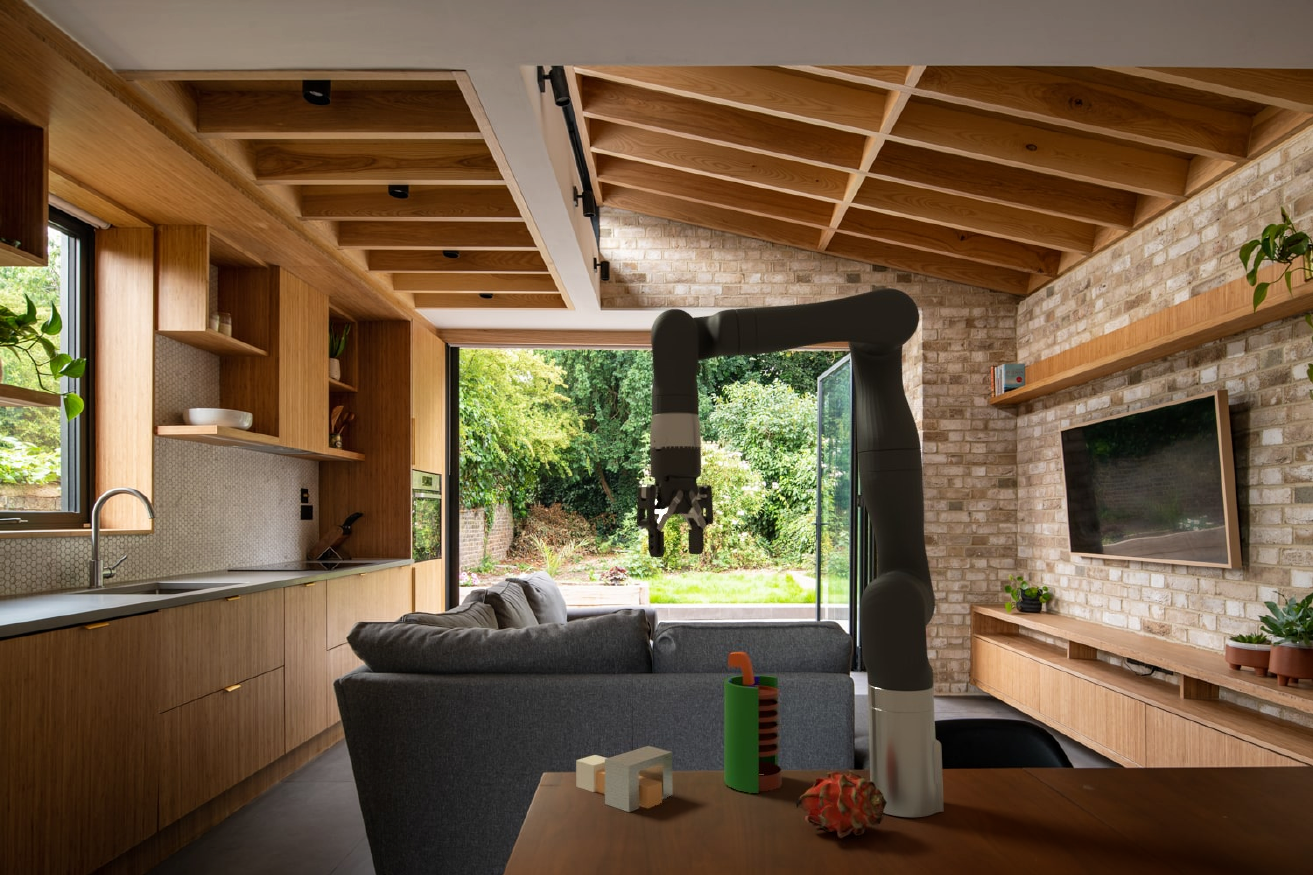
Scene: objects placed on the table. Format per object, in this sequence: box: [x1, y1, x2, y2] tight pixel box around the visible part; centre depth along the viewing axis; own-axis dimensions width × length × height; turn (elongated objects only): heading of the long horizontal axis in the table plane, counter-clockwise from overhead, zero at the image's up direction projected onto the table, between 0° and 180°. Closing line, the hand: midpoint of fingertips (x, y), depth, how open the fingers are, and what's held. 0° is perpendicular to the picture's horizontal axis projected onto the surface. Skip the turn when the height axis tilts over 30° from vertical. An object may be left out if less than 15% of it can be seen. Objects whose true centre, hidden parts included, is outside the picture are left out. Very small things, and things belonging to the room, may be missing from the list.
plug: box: [575, 754, 663, 809], centre depth 129 cm, size 15×4×4 cm, turn 47°
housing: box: [604, 745, 674, 813], centre depth 127 cm, size 5×9×6 cm, turn 137°
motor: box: [723, 651, 783, 794], centre depth 134 cm, size 10×9×20 cm
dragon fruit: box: [794, 770, 887, 839], centre depth 114 cm, size 8×8×12 cm
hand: (676, 555), depth 125 cm, fingers open, 8 cm apart
